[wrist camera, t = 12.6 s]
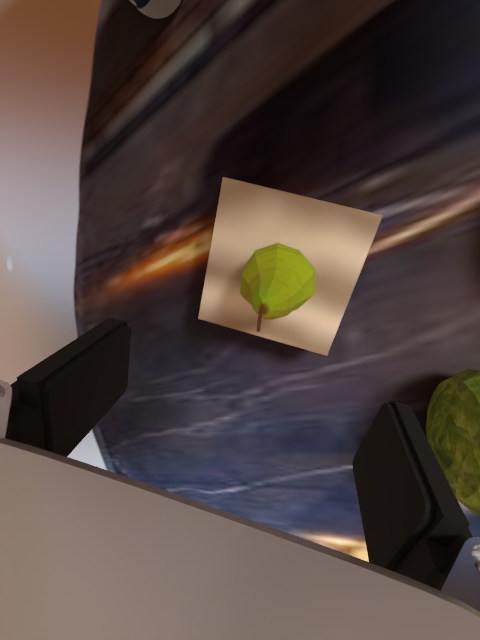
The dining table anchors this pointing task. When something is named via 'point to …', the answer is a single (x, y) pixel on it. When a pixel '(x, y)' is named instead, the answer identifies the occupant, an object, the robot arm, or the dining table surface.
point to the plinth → (293, 231)
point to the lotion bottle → (156, 7)
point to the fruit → (277, 281)
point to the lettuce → (458, 434)
